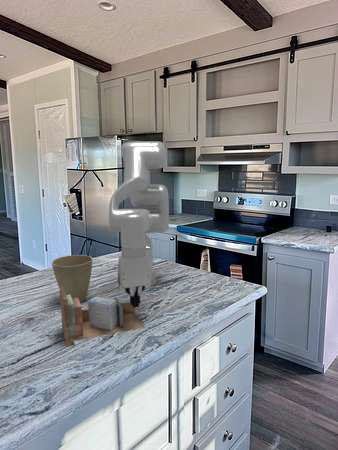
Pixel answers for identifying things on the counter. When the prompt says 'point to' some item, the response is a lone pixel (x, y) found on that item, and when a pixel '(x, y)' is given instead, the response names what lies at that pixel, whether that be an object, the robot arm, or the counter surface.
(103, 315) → the medicine box
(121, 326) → the bookend
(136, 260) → the robot arm
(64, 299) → the rack
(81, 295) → the plant pot
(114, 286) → the counter surface
